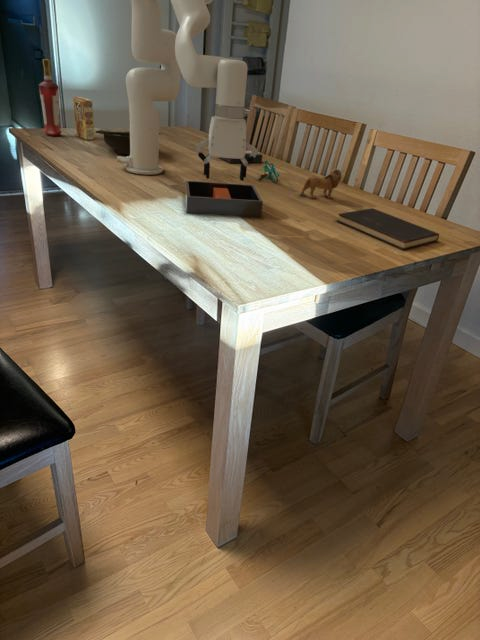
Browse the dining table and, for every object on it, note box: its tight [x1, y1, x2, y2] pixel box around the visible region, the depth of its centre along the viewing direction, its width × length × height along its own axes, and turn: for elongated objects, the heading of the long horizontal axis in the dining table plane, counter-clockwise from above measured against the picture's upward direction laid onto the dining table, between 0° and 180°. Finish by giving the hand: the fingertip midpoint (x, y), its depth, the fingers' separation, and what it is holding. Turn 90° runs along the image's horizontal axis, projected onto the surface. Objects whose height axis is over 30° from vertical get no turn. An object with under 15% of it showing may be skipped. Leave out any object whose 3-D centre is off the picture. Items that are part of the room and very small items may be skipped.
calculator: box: [220, 148, 263, 164], centre depth 193 cm, size 11×4×15 cm
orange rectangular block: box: [213, 188, 231, 199], centre depth 136 cm, size 4×12×4 cm, turn 7°
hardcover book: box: [336, 207, 440, 251], centre depth 133 cm, size 16×23×2 cm
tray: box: [184, 180, 264, 219], centre depth 136 cm, size 21×17×5 cm
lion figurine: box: [299, 168, 343, 200], centre depth 155 cm, size 15×5×9 cm, turn 116°
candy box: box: [72, 96, 96, 141], centre depth 197 cm, size 9×4×15 cm, turn 44°
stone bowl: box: [94, 129, 162, 156], centre depth 186 cm, size 25×25×9 cm
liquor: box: [38, 58, 62, 137], centre depth 192 cm, size 7×7×28 cm
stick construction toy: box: [258, 160, 281, 183], centre depth 170 cm, size 12×7×8 cm
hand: (224, 178), depth 133 cm, fingers open, 9 cm apart
